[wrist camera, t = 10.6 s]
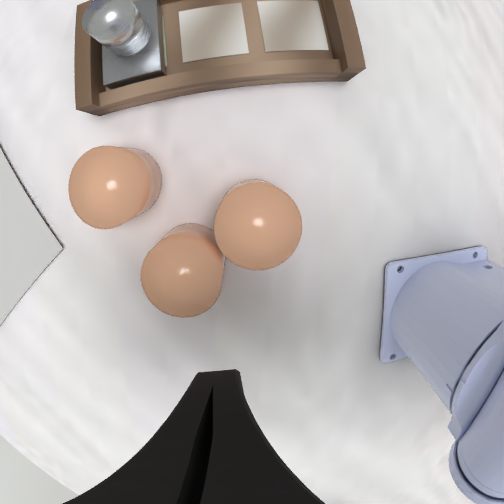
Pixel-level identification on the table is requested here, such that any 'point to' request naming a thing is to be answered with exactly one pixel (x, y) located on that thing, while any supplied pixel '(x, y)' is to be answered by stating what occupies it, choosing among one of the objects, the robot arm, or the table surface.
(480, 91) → the table surface
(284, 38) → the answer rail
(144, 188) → the peach domed cylinder
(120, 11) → the slider
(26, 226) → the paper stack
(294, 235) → the peach domed capsule
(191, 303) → the peach rounded cylinder
